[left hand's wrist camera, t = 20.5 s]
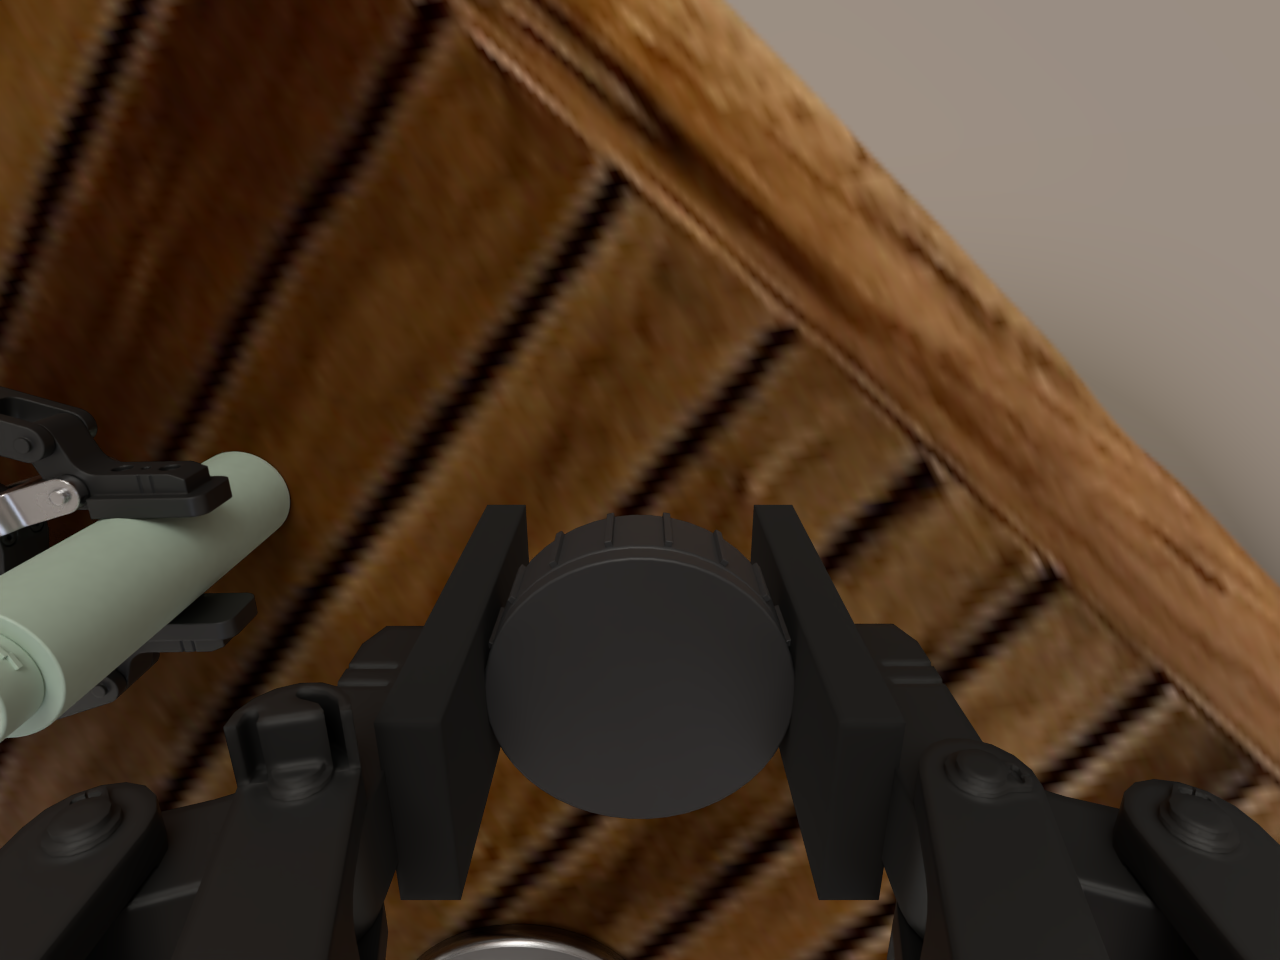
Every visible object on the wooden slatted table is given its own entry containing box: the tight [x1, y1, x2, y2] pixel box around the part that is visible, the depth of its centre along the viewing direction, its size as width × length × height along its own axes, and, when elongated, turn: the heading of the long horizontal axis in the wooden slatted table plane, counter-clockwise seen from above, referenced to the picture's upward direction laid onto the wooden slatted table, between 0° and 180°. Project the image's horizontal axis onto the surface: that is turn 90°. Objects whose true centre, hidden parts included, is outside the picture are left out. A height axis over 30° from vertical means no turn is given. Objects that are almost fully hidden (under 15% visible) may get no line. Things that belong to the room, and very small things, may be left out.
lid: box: [485, 513, 795, 819], centre depth 11 cm, size 5×5×2 cm
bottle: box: [0, 452, 290, 742], centre depth 25 cm, size 4×4×15 cm
